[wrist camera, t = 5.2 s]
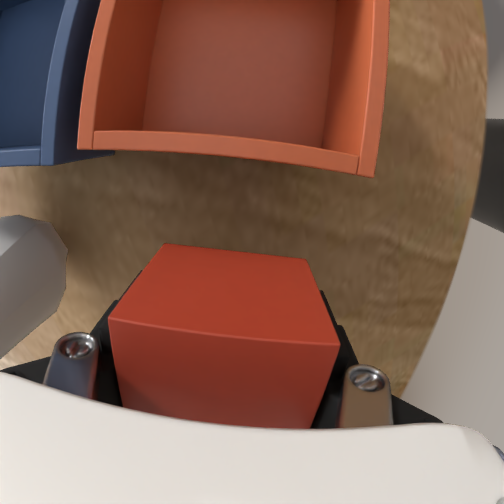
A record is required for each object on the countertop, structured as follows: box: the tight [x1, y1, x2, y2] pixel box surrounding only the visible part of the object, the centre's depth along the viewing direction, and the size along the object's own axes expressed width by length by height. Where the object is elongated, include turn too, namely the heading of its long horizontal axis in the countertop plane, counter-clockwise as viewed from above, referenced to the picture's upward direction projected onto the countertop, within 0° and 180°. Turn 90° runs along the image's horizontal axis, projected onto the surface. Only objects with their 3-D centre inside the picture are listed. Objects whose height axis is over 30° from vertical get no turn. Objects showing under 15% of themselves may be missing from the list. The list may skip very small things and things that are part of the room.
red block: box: [108, 243, 341, 429], centre depth 9 cm, size 5×5×5 cm
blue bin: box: [0, 0, 115, 167], centre depth 9 cm, size 10×10×6 cm
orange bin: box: [77, 0, 390, 178], centre depth 10 cm, size 9×9×6 cm
